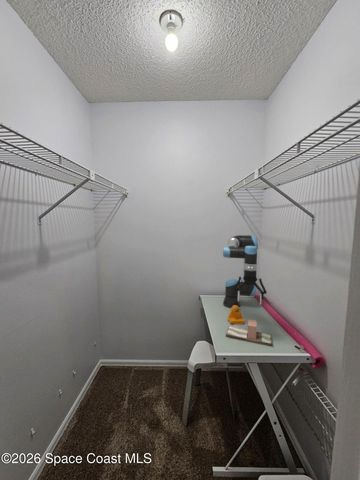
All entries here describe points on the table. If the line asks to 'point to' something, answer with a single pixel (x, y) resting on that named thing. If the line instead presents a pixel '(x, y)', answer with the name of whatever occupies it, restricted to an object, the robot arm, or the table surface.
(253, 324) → the stub
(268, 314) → the table surface
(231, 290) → the robot arm
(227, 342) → the table surface
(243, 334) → the board
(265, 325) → the table surface
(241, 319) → the bracket
